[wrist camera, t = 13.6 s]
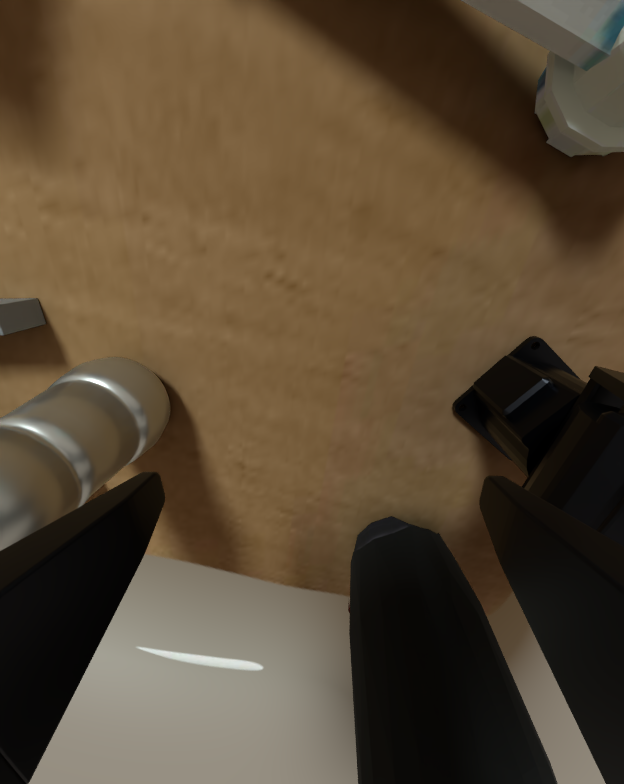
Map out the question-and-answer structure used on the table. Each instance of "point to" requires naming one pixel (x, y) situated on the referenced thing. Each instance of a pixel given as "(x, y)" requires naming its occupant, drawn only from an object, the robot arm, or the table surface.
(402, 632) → the portable speaker
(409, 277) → the table surface
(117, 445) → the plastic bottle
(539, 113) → the grey piece
